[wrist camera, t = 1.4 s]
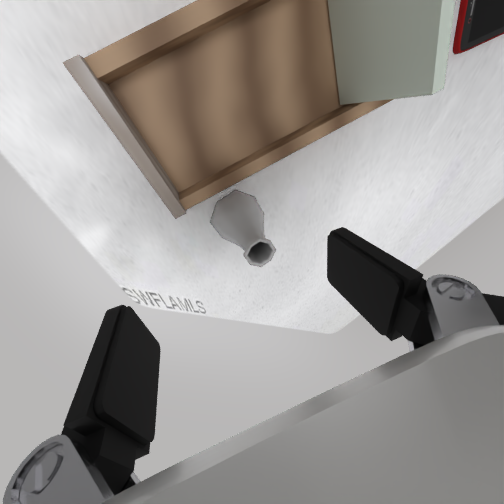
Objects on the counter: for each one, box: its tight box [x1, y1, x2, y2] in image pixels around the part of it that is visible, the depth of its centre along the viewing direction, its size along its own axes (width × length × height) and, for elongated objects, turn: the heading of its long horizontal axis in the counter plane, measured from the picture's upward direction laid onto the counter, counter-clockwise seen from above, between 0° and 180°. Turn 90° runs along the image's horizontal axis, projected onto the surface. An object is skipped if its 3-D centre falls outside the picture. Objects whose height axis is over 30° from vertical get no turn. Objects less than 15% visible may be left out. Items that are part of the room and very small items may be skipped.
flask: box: [210, 190, 276, 267], centre depth 25 cm, size 7×7×10 cm
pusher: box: [328, 0, 455, 105], centre depth 17 cm, size 1×10×11 cm, turn 23°
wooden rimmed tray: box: [63, 0, 393, 219], centre depth 20 cm, size 28×13×5 cm, turn 113°
